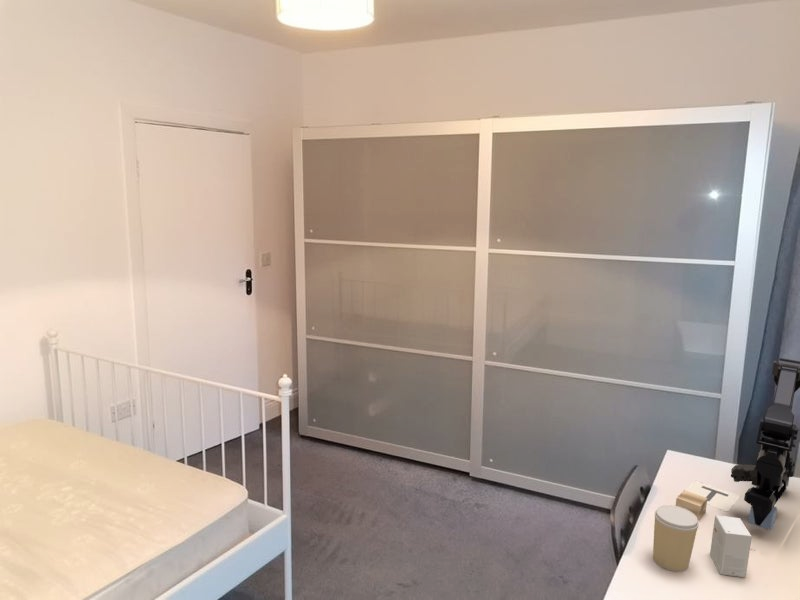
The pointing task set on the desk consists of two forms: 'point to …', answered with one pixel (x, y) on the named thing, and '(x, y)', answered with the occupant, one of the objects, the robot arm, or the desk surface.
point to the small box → (730, 546)
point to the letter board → (714, 495)
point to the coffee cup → (674, 537)
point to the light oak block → (692, 503)
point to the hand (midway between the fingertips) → (762, 518)
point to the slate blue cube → (768, 520)
